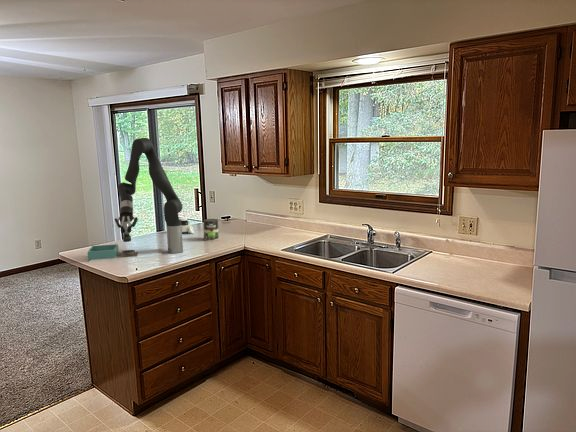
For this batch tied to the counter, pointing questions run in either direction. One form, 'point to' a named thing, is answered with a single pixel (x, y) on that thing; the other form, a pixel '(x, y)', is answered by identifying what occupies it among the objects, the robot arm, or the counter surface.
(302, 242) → the counter surface
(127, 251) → the square framed wooden base
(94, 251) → the bin
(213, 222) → the coffee can
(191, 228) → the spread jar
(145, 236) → the counter surface
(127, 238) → the tube
